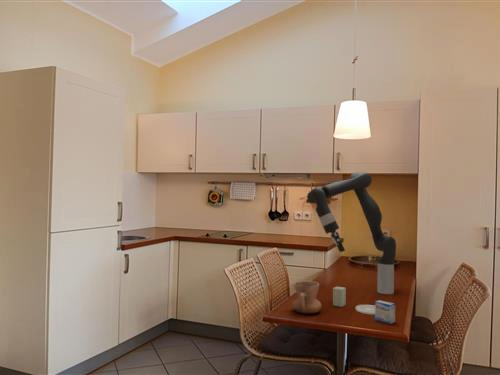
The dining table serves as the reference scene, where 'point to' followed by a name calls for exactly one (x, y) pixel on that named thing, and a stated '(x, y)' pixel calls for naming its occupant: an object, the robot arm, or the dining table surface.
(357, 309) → the dish
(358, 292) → the dining table surface
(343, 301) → the sage block
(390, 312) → the medicine box
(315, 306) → the ceramic jug
